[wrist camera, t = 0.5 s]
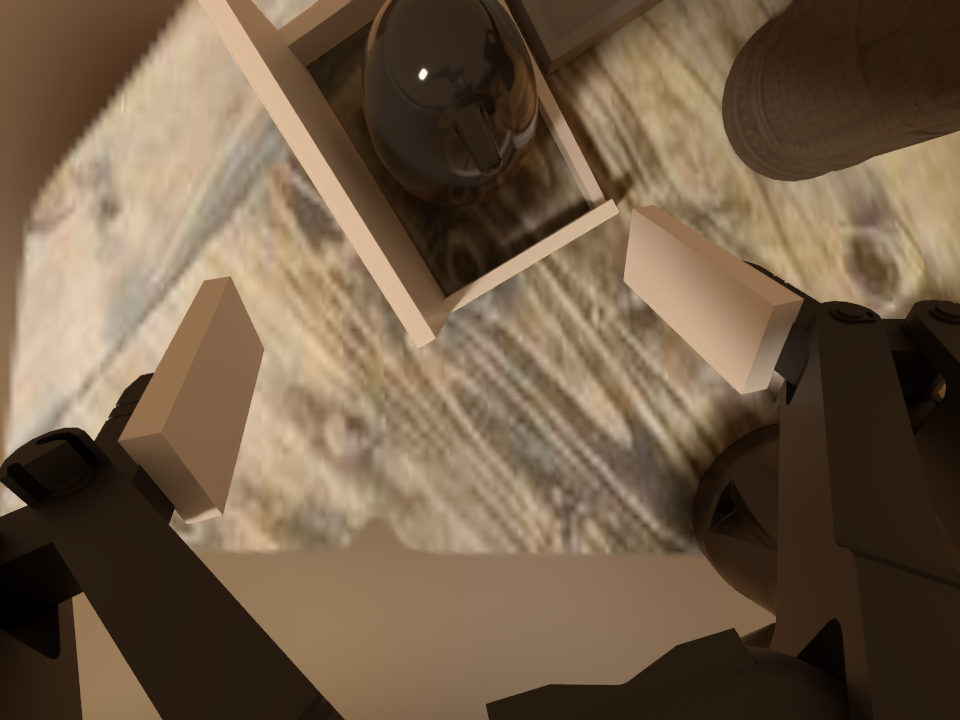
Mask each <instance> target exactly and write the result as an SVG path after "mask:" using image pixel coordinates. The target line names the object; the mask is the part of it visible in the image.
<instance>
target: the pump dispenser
mask: <svg viewBox="0 0 960 720" xmlns="http://www.w3.org/2000/svg"><path fill="white" fill-rule="evenodd" d="M361 94H362V105H363V111H364V116H365V121H366V125H367V128H368V132H369V135H370V138H371V141H372V143H373V146H374V148H375V151H376V153H377V155H378V157H379V159H380V160H381V162H382V164H383V165H384V167H385V168H386V170H387V171H388V172H389V173H390V175H391V176H392V177H393V178H394V179H395V180H396V181H397V182H398V183H399V184H400V185H401V186H402V187H403V188H405V189H406V190H407V191H408V192H410V193H411V194H413V195H415V196H416V197H418V198H420V199H422V200H425V201H427V202H430V203H433V204H437V205H442V206H451V207H458V206H467V205H472V204H476V203H479V202H482V201H484V200H487V199H489V198H491V197H492V196H494V195H496V194H497V193H499V192H500V191H502V190H503V189H504V188H505V187H506V186H507V185H509V184H510V183H511V182H512V180H513V179H514V178H515V177H516V176H517V174H518V173H519V172H520V170H521V169H522V167H523V166H524V164H525V162H526V160H527V158H528V156H529V154H530V151H531V149H532V146H533V143H534V140H535V135H536V131H537V124H538V93H537V85H536V79H535V74H534V70H533V66H532V62H531V59H530V56H529V54H528V51H527V48H526V46H525V44H524V41H523V39H522V37H521V35H520V33H519V31H518V29H517V27H516V25H515V23H514V22H513V20H512V18H511V17H510V15H509V14H508V13H507V11H506V10H505V9H504V7H503V6H502V5H501V4H500V3H499V1H498V0H386V1H385V3H384V4H383V5H382V7H381V8H380V10H379V11H378V13H377V15H376V17H375V19H374V21H373V23H372V25H371V28H370V30H369V33H368V36H367V40H366V43H365V48H364V53H363V60H362V70H361Z"/></svg>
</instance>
